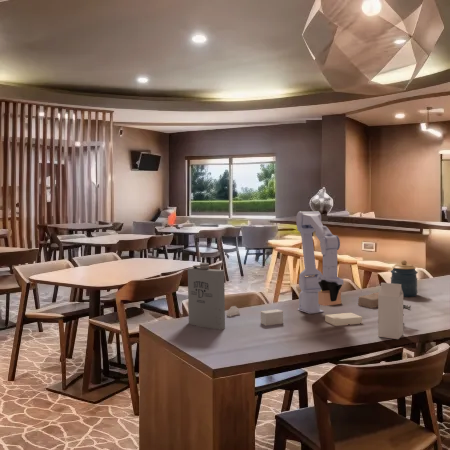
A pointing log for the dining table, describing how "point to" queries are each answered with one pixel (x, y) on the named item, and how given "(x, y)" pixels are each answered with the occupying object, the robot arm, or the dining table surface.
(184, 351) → the dining table surface
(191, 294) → the flask
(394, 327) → the milk carton
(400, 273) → the canister
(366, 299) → the brick
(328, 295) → the terracotta brick
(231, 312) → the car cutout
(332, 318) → the cream base brick
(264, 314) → the grey brick
